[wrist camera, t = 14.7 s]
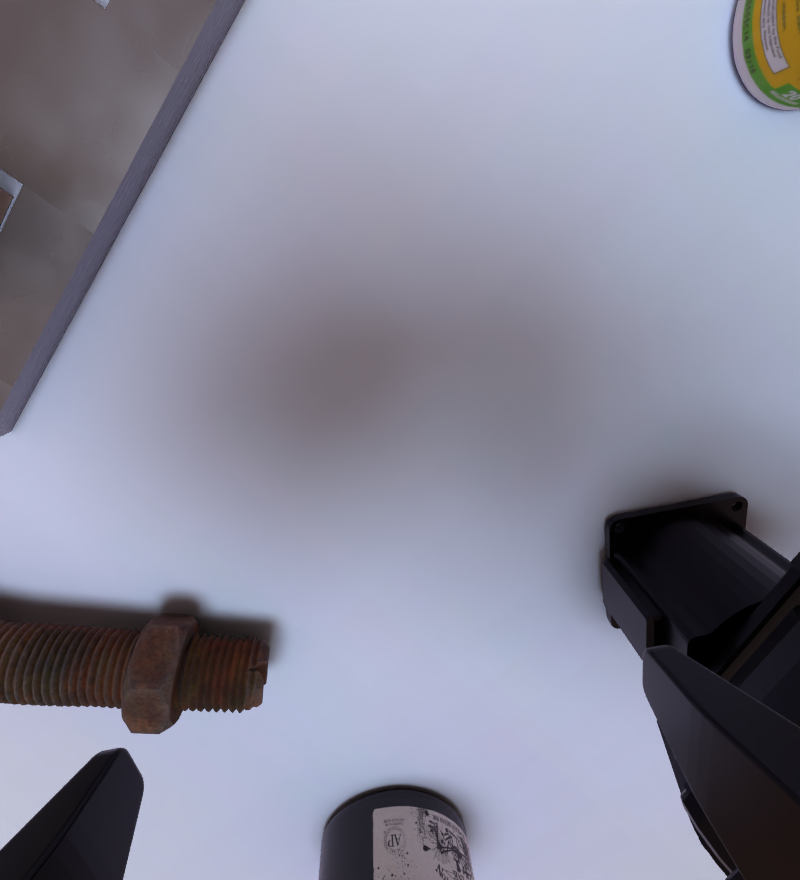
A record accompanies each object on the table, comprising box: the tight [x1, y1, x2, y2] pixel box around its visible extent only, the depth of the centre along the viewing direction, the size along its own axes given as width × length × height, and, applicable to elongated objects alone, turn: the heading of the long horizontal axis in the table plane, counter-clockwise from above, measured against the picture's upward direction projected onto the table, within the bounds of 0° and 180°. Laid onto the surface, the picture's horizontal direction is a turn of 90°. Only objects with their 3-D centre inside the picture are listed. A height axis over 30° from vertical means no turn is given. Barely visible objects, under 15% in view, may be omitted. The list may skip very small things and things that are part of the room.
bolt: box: [0, 614, 269, 734], centre depth 21 cm, size 6×5×15 cm
